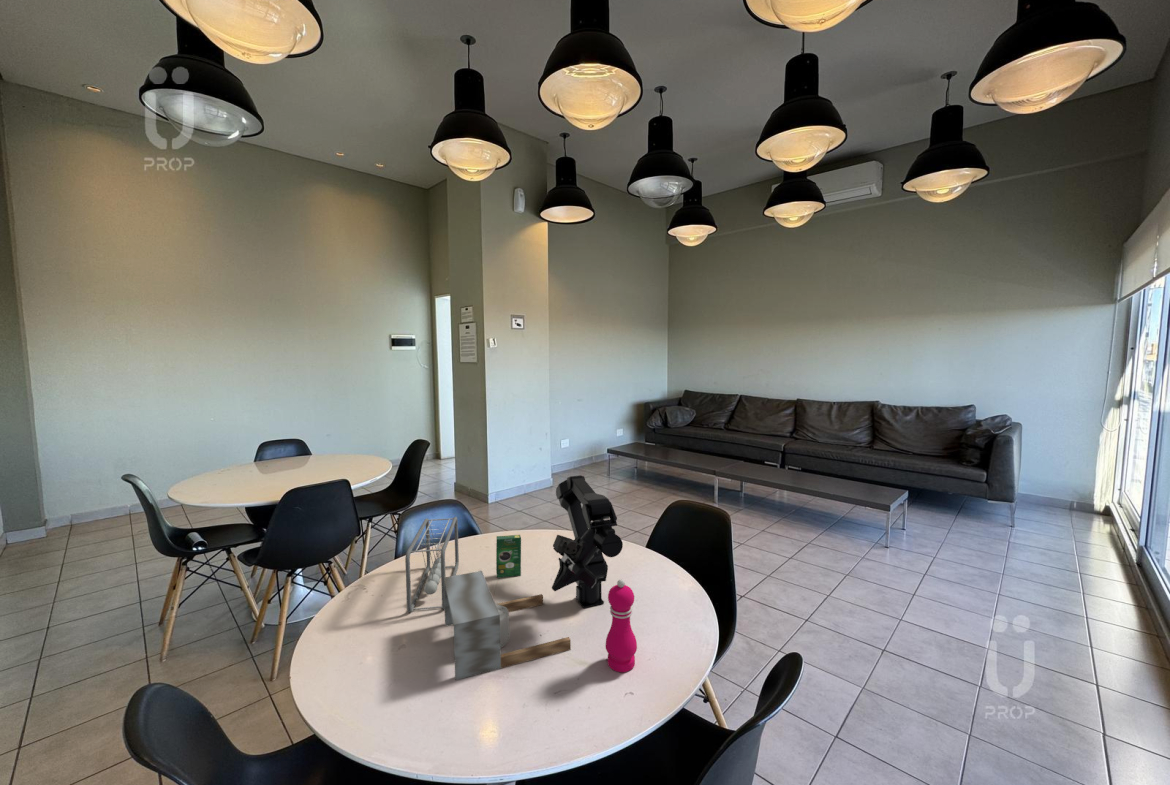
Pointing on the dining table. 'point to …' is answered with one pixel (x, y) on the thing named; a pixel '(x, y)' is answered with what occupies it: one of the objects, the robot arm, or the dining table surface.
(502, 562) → the coffee box
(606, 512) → the robot arm
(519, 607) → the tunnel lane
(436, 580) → the newton's cradle
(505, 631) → the grey animal paw
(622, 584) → the pepper mill
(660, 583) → the dining table surface
